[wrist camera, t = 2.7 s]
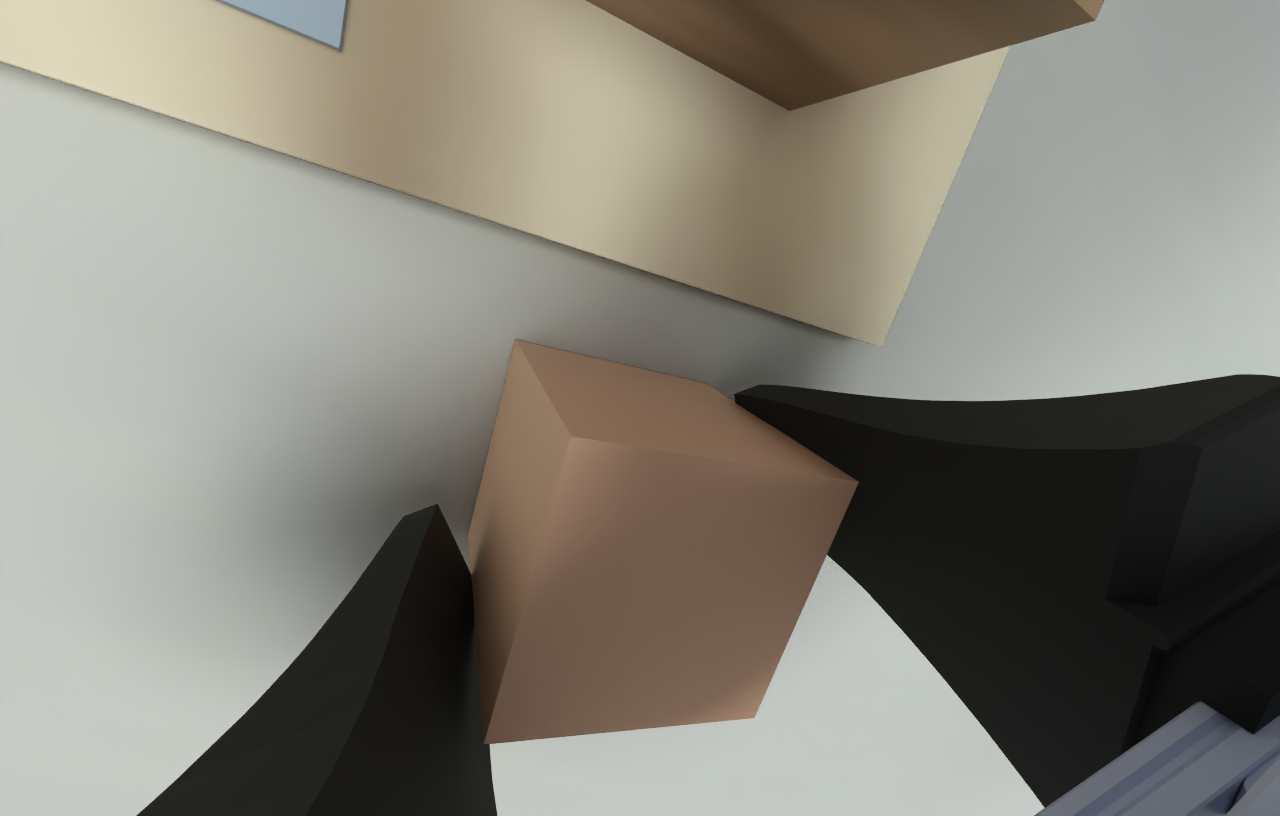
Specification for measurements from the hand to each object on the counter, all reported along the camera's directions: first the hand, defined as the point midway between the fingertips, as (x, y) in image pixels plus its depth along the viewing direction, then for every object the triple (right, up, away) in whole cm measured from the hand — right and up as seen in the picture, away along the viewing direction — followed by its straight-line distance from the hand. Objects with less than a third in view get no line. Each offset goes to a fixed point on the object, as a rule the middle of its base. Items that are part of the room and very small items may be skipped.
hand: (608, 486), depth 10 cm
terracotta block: (0, 0, +1) cm, 1 cm away
